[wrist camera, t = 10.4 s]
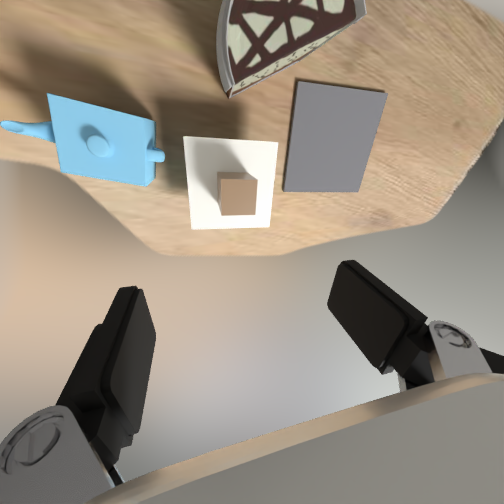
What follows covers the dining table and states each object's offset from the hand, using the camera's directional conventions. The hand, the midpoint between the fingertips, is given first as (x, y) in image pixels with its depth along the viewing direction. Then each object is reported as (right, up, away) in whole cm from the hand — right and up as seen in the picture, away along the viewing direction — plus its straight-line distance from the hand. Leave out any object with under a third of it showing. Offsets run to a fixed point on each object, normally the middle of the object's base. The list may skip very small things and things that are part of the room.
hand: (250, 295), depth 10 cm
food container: (0, +25, +13) cm, 28 cm away
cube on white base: (-2, +10, +15) cm, 18 cm away
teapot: (-16, +15, +14) cm, 26 cm away
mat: (+12, +17, +19) cm, 29 cm away
